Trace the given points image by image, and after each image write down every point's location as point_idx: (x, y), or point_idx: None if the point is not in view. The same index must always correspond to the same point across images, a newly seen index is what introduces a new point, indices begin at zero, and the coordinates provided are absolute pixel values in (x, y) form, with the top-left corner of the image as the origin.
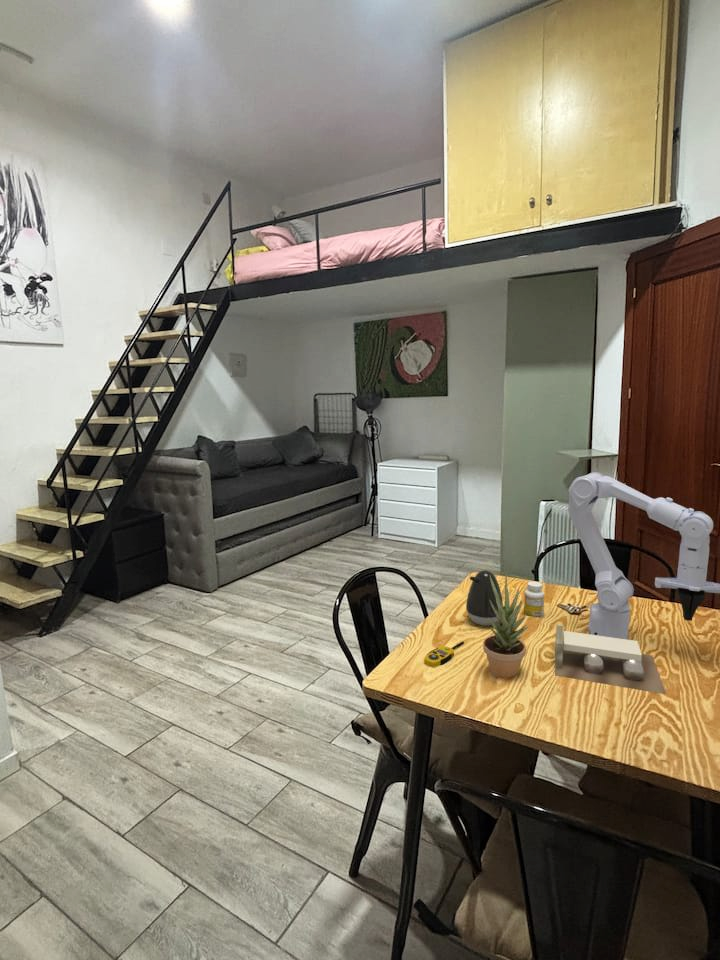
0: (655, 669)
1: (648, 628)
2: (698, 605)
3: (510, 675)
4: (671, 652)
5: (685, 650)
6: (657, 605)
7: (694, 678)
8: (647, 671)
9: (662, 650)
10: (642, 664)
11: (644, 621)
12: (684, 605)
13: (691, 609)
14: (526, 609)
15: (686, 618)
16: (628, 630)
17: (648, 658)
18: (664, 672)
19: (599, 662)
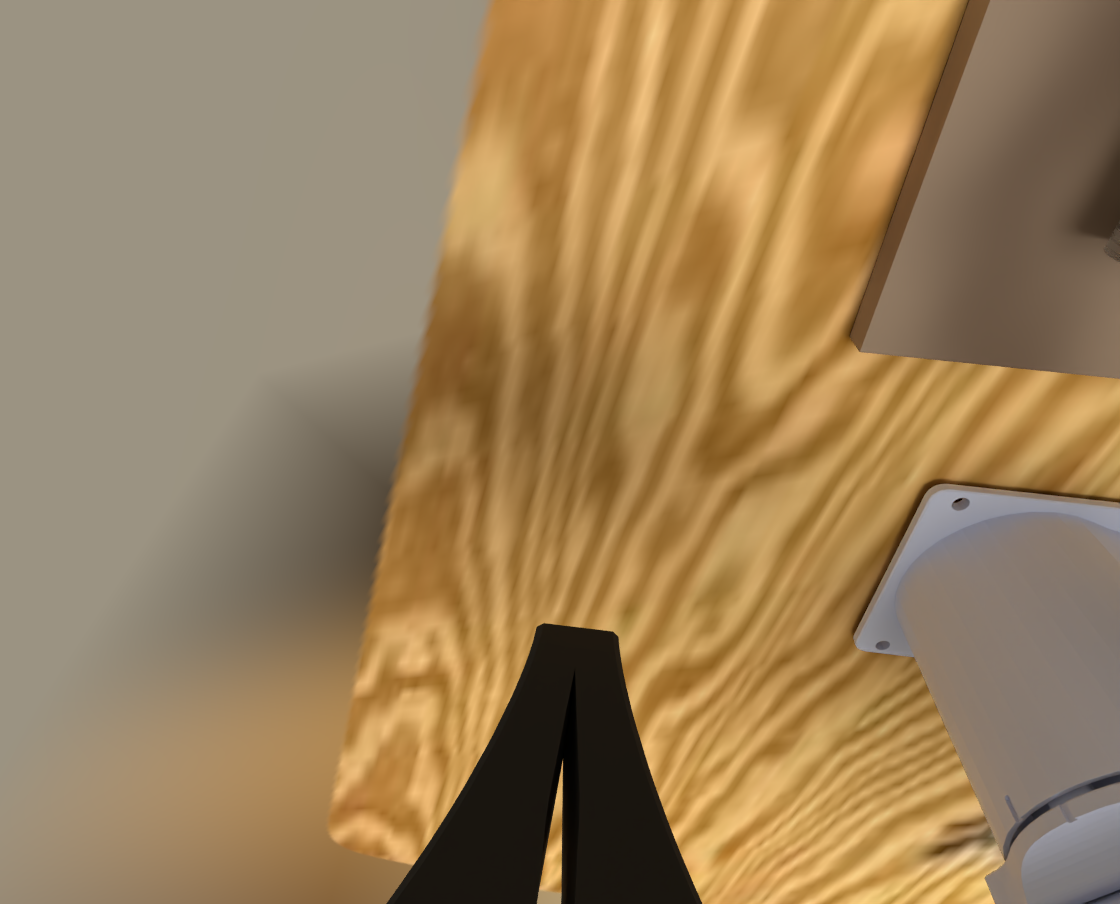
0: (989, 60)
1: (677, 702)
2: (415, 880)
3: None
4: (647, 467)
5: (543, 507)
6: (546, 866)
7: (615, 64)
8: None
9: (701, 482)
10: (1071, 145)
11: (669, 757)
12: (672, 874)
13: (543, 788)
14: None
15: (604, 650)
16: (941, 621)
17: (930, 288)
18: (854, 114)
19: None
